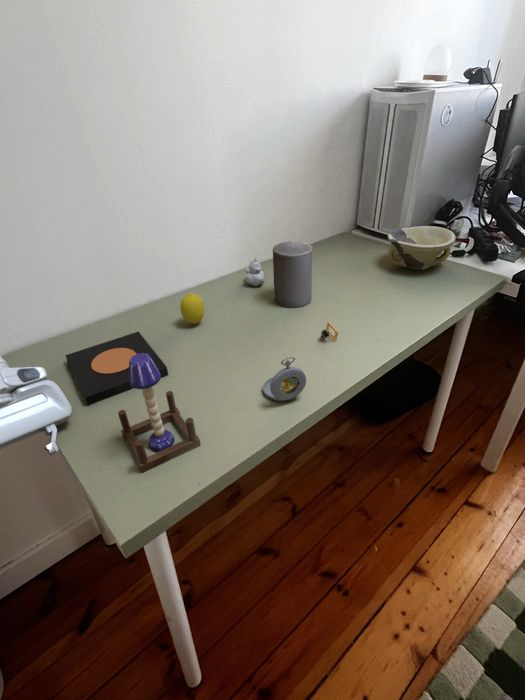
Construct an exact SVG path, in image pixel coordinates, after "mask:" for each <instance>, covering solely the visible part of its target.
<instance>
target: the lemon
mask: <svg viewBox="0 0 525 700" xmlns="http://www.w3.org/2000/svg"><path fill="white" fill-rule="evenodd" d="M179 309H180V315H181V316H182V318H183V320H184V321H186V322H187V323H189V324H193V325H196V324H197V323H199V322H201V321H202V320H203V319H204V317H205V311H206V310H205V309H206V308H205V304H204V302H203V300H202V298H201V297H200V296H199V295H197V294H195V293H191V292H190V293H187V294H186V295H184V296H183V297H182V299H181V301H180V307H179Z"/></svg>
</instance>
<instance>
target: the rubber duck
mask: <svg viewBox="0 0 525 700" xmlns="http://www.w3.org/2000/svg"><path fill="white" fill-rule="evenodd" d="M260 263H261V262H259V260H258V259H256V257H254V259H253V260H251V261H250V263H249V264H248V268H246V269H245V276H244V279H245V282H246V283H247V284H249V285H251V286H253V287H258V286H260V285H262V284H264V282H265V279H266V276H265V273H264V271H263V270H262V266H261V264H260Z"/></svg>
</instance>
